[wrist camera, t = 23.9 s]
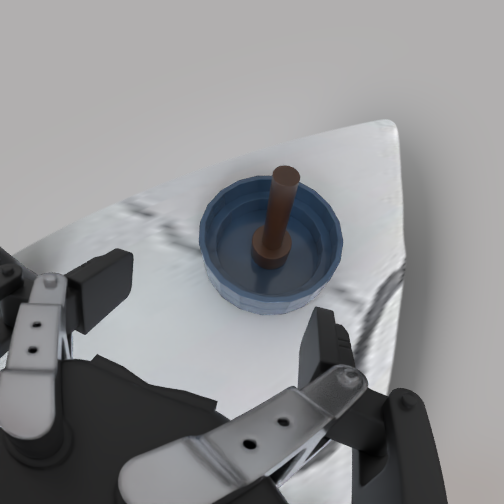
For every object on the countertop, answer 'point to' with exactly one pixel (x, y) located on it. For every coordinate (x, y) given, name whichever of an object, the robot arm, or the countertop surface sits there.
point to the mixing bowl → (240, 241)
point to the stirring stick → (276, 221)
